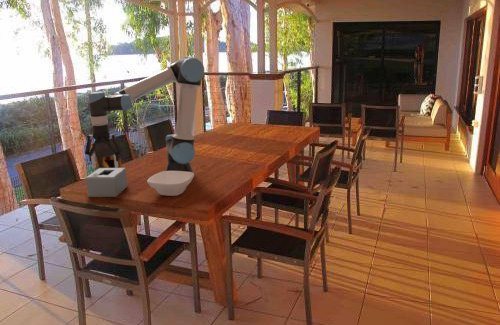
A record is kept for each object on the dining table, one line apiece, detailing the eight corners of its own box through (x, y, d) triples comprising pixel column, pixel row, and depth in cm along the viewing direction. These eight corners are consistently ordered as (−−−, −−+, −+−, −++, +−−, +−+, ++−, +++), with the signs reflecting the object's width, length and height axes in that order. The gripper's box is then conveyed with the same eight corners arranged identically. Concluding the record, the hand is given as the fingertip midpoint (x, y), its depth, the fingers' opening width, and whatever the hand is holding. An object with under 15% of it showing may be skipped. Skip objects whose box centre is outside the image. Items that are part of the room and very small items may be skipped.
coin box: (127, 186, 230) (125, 167, 227) (116, 196, 215) (113, 177, 212) (101, 186, 231) (99, 168, 229) (88, 196, 216) (85, 177, 213)
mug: (117, 183, 235) (114, 161, 232) (101, 179, 243) (98, 158, 240) (131, 178, 243) (129, 157, 240) (115, 175, 251) (113, 154, 248)
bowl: (163, 185, 229) (162, 169, 227) (200, 188, 223) (199, 171, 221) (143, 199, 210) (141, 182, 208) (182, 202, 204) (181, 184, 202)
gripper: (126, 122, 216) (130, 165, 222) (80, 123, 218) (86, 165, 224) (120, 125, 209) (125, 169, 215) (73, 126, 211) (79, 170, 217)
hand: (105, 167), depth 220 cm, fingers open, 11 cm apart
